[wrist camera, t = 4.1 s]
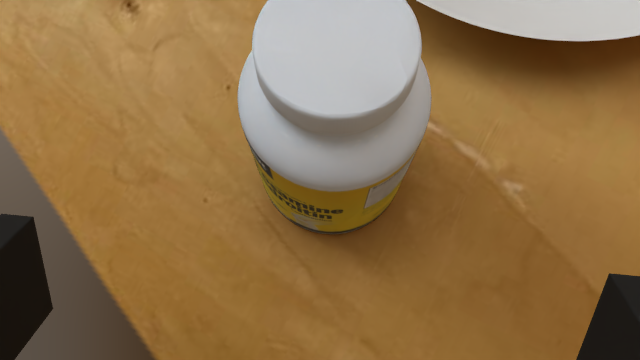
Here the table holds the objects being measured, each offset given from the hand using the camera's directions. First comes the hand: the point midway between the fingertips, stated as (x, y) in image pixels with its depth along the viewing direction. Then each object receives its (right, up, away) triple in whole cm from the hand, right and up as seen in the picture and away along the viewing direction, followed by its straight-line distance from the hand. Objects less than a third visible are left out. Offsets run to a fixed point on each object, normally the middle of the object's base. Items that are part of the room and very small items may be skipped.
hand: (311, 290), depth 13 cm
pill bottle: (+1, +3, +13) cm, 14 cm away
